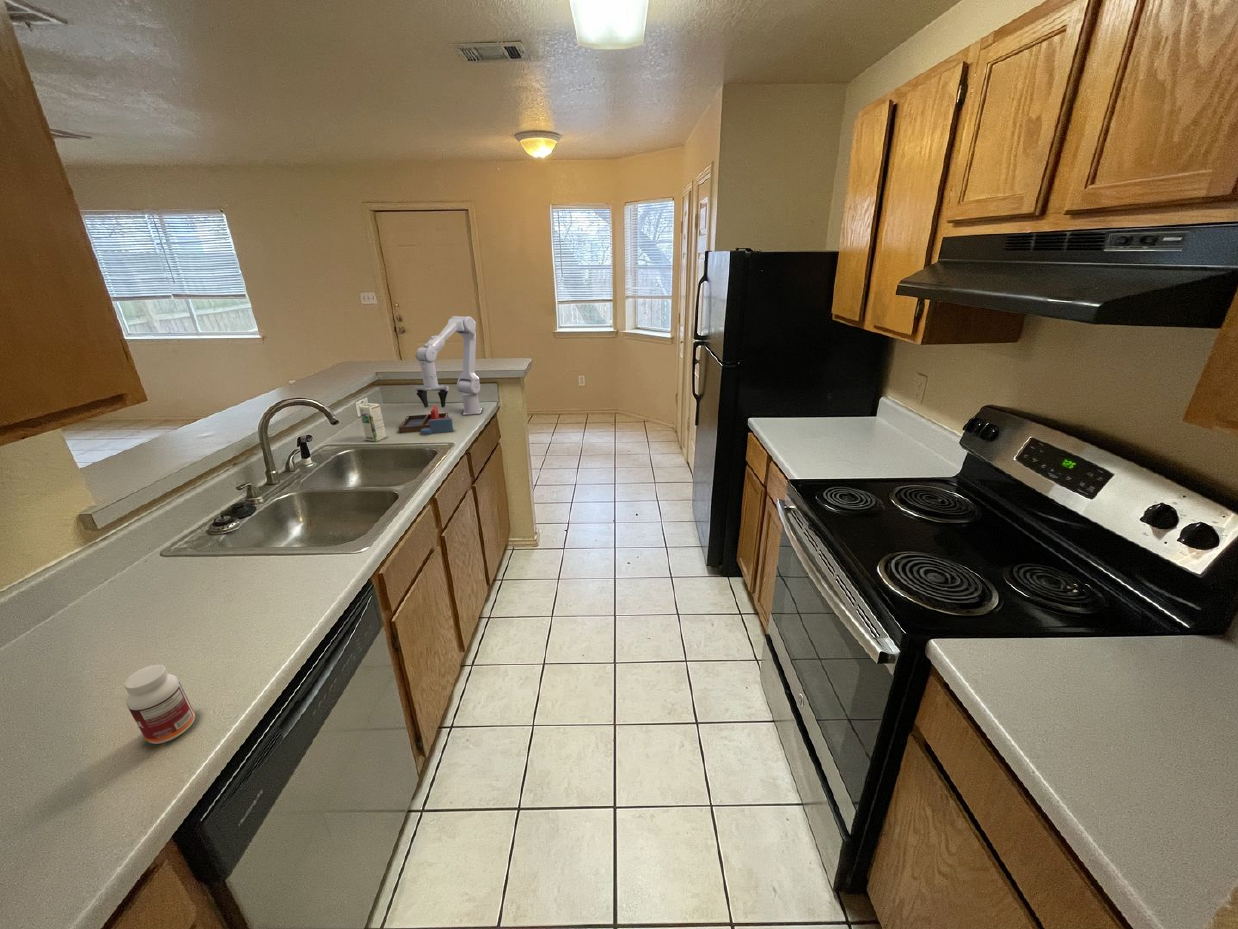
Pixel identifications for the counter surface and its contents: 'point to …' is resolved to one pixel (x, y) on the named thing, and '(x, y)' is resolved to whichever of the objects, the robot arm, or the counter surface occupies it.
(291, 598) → the counter surface
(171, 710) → the pill bottle
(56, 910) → the counter surface
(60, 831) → the counter surface
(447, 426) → the blue spoon
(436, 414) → the red spoon
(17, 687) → the counter surface
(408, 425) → the sorting tray
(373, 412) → the syrup box
